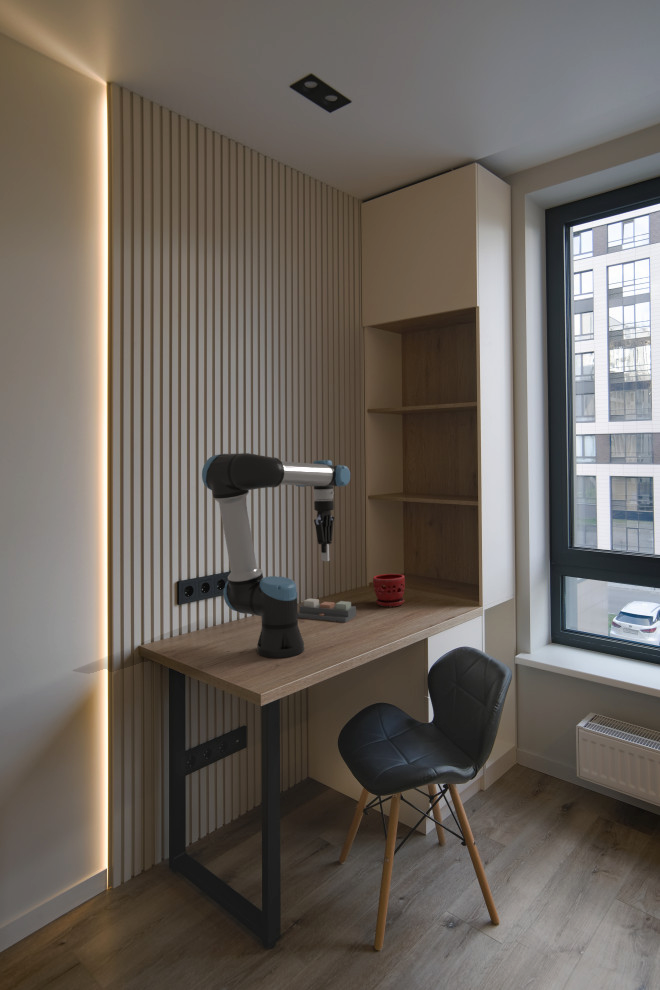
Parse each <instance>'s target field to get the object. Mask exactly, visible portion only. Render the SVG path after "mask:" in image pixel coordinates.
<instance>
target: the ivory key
mask: <svg viewBox="0 0 660 990" xmlns="http://www.w3.org/2000/svg"><path fill="white" fill-rule="evenodd" d="M319 603H320V600H319V598H318V599H317V598H307V599H305V600H303V604H304V606H308V607H316V606H318V605H319Z"/></svg>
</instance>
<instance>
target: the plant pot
mask: <svg viewBox="0 0 660 990" xmlns="http://www.w3.org/2000/svg"><path fill="white" fill-rule="evenodd" d="M405 580H406V579H405V575H404V574H399V573H386V574H377V575H375V576H373V577H372V583H373V591H374V593H375V596H376V598H377V599H375V600H376V601H375V602H376V604H377V605H379V606H381V607H388V606H389V608H390V607H392V606H393V607H397V606H402V605H403V603H405V598H403V597H404V594H405V587H406V581H405Z"/></svg>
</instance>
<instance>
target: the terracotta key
mask: <svg viewBox="0 0 660 990" xmlns="http://www.w3.org/2000/svg"><path fill="white" fill-rule="evenodd" d="M335 605H336V603H335V602H334V601H333V602H332V601H323V602H322V603H321V604H320V608H329V609H331V608H332V607H334V606H335Z"/></svg>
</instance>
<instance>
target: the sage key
mask: <svg viewBox="0 0 660 990" xmlns="http://www.w3.org/2000/svg"><path fill="white" fill-rule="evenodd" d="M335 605H336V609H340V610H348V609H350V608H351V606H352V602H351V601H344V600H340V601H337V602H336V603H335Z"/></svg>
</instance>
